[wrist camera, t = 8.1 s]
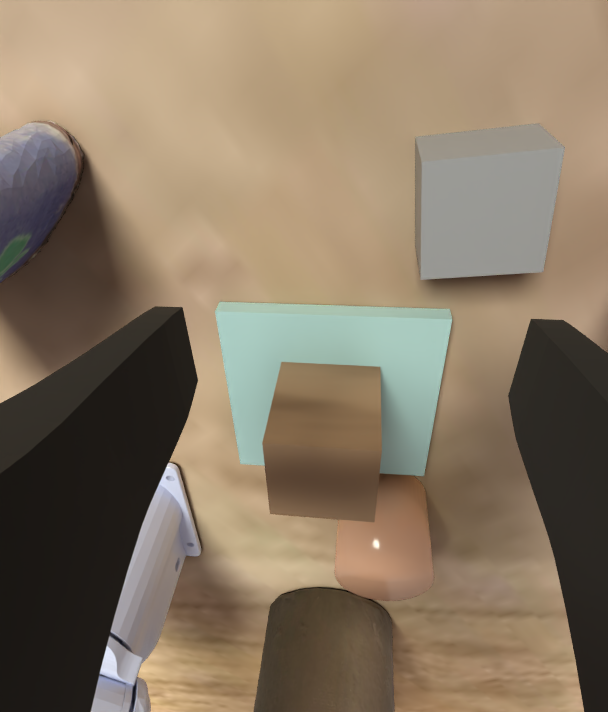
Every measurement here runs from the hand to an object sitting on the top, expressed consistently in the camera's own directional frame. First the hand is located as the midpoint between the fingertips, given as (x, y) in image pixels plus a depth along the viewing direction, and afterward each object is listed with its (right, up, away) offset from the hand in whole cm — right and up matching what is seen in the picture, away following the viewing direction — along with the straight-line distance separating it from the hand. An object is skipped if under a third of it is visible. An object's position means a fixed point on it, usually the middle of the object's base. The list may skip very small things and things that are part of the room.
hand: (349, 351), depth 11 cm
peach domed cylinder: (+4, -8, +19) cm, 21 cm away
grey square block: (+5, +6, +7) cm, 11 cm away
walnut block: (0, -2, +13) cm, 13 cm away
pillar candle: (+1, -21, +29) cm, 35 cm away
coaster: (0, -2, +14) cm, 14 cm away
